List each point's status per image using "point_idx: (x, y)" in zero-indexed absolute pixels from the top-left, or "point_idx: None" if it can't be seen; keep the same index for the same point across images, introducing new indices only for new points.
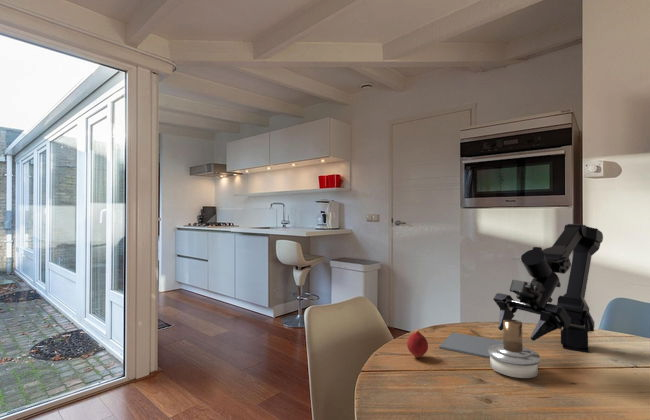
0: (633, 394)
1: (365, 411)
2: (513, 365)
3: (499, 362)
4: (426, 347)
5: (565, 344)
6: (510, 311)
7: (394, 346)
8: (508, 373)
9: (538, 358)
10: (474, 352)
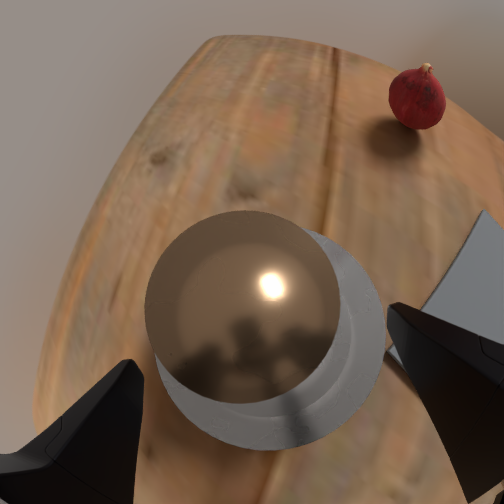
0: None
1: (213, 37)
2: None
3: None
4: (399, 106)
5: None
6: (496, 474)
7: (467, 121)
8: None
9: (168, 388)
10: (442, 295)
